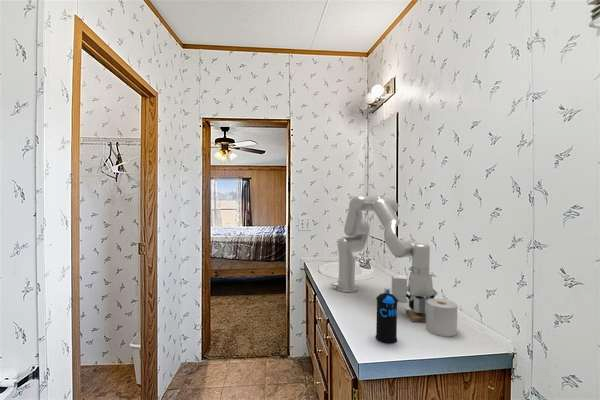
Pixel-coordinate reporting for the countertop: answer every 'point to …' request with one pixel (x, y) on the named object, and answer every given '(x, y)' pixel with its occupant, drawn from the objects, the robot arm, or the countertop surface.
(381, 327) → the aerosol can
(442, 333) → the toilet paper roll
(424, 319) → the shaft block
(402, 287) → the supplement box
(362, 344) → the countertop surface
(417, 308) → the hub
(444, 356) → the countertop surface
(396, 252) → the robot arm
